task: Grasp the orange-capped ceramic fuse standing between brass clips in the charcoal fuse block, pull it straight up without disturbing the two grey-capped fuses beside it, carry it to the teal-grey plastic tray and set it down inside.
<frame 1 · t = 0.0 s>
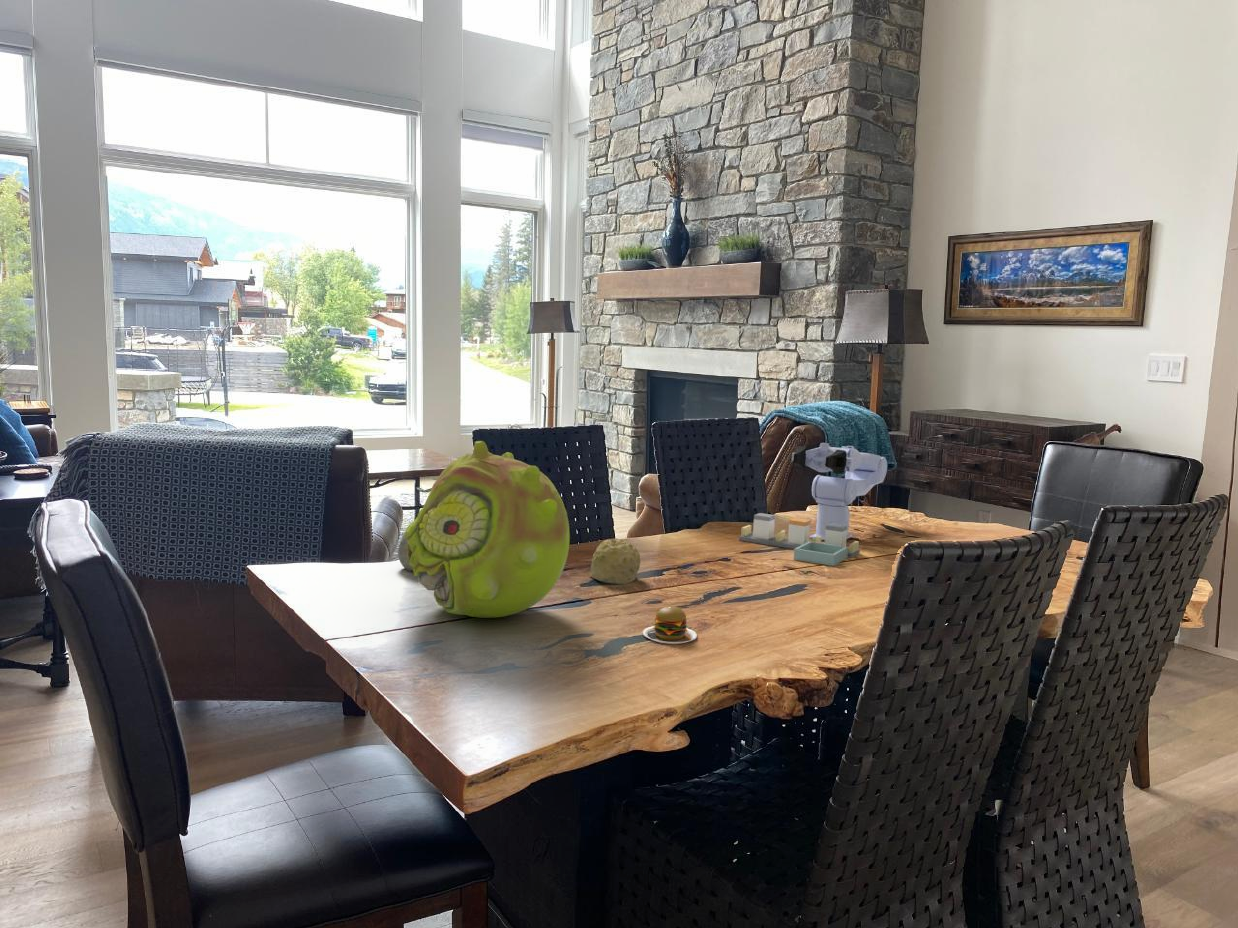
hand: (810, 459, 220), 22 cm above the table, tool horizontal, fingers open, 7 cm apart
fuse block: (798, 546, 228), on the table
hamburger: (669, 641, 156), on the table
grey fuse 1: (763, 537, 232), point 1 cm above the table, touching fuse block
grey fuse 2: (834, 548, 223), point 1 cm above the table, touching fuse block
stone: (476, 566, 197), on the table
monster head: (485, 614, 163), on the table
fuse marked: (798, 542, 228), point 1 cm above the table, touching fuse block
tray: (820, 558, 216), on the table
rock: (614, 579, 191), on the table
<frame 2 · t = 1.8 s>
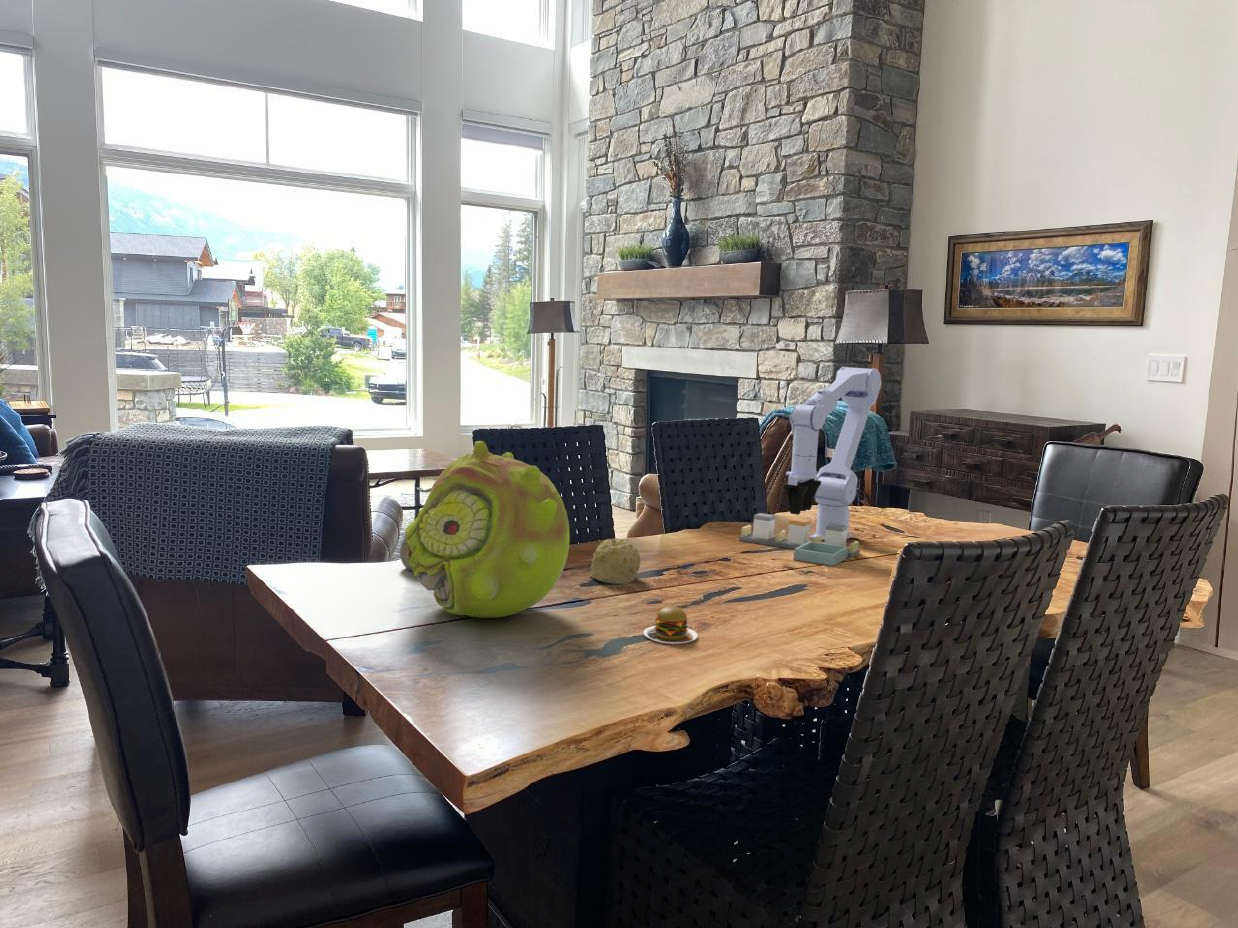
hand: (800, 511, 226), 9 cm above the table, tool pointing down, fingers open, 7 cm apart
nothing on the table moved.
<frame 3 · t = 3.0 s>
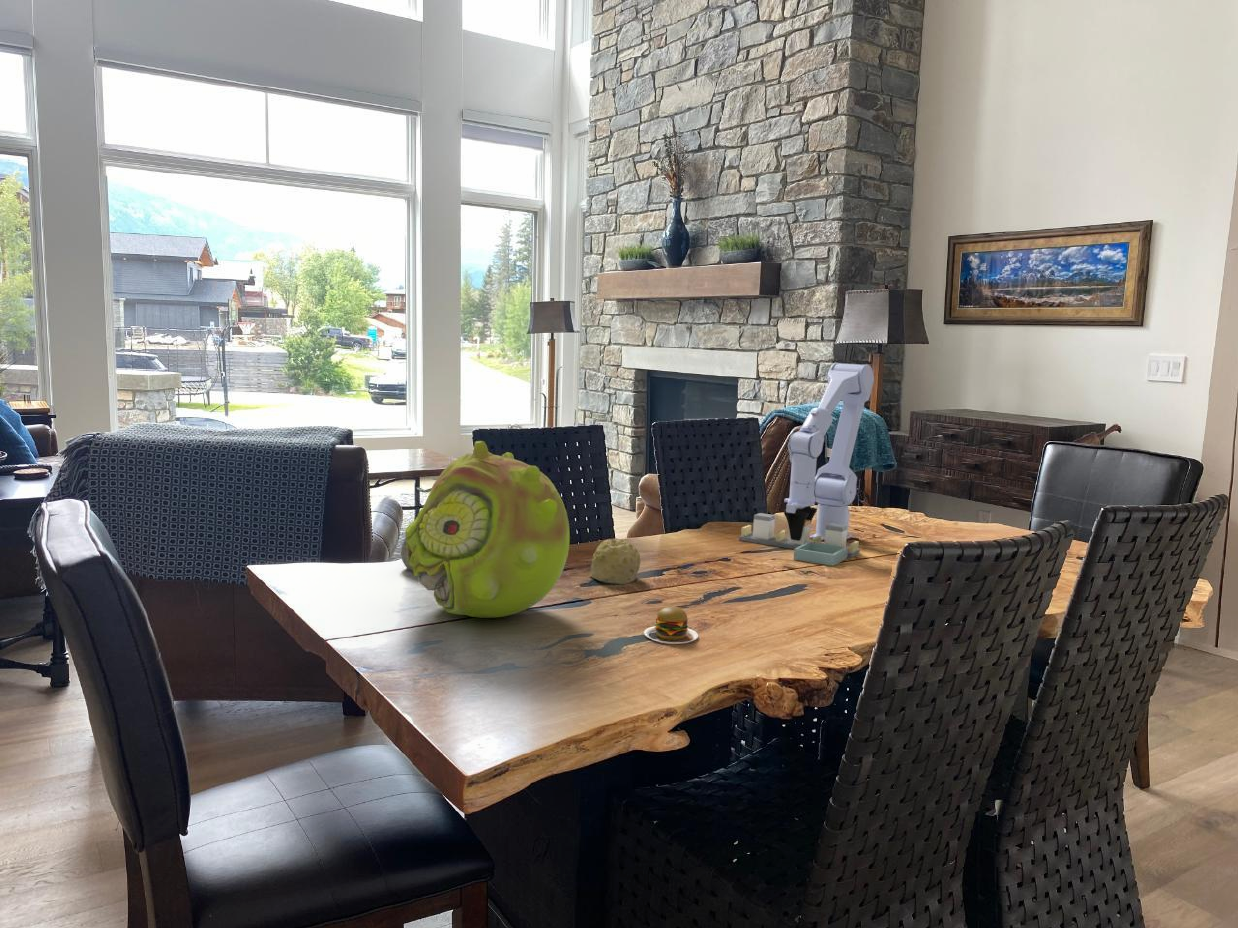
hand: (798, 538, 227), 2 cm above the table, tool pointing down, fingers closed on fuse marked, 4 cm apart
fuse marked: (798, 542, 228), point 1 cm above the table, touching fuse block, gripper
everything else where it was.
when the fingers open (3 cm above the table, at t = 6.4 s): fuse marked drops 2 cm, resting on tray.
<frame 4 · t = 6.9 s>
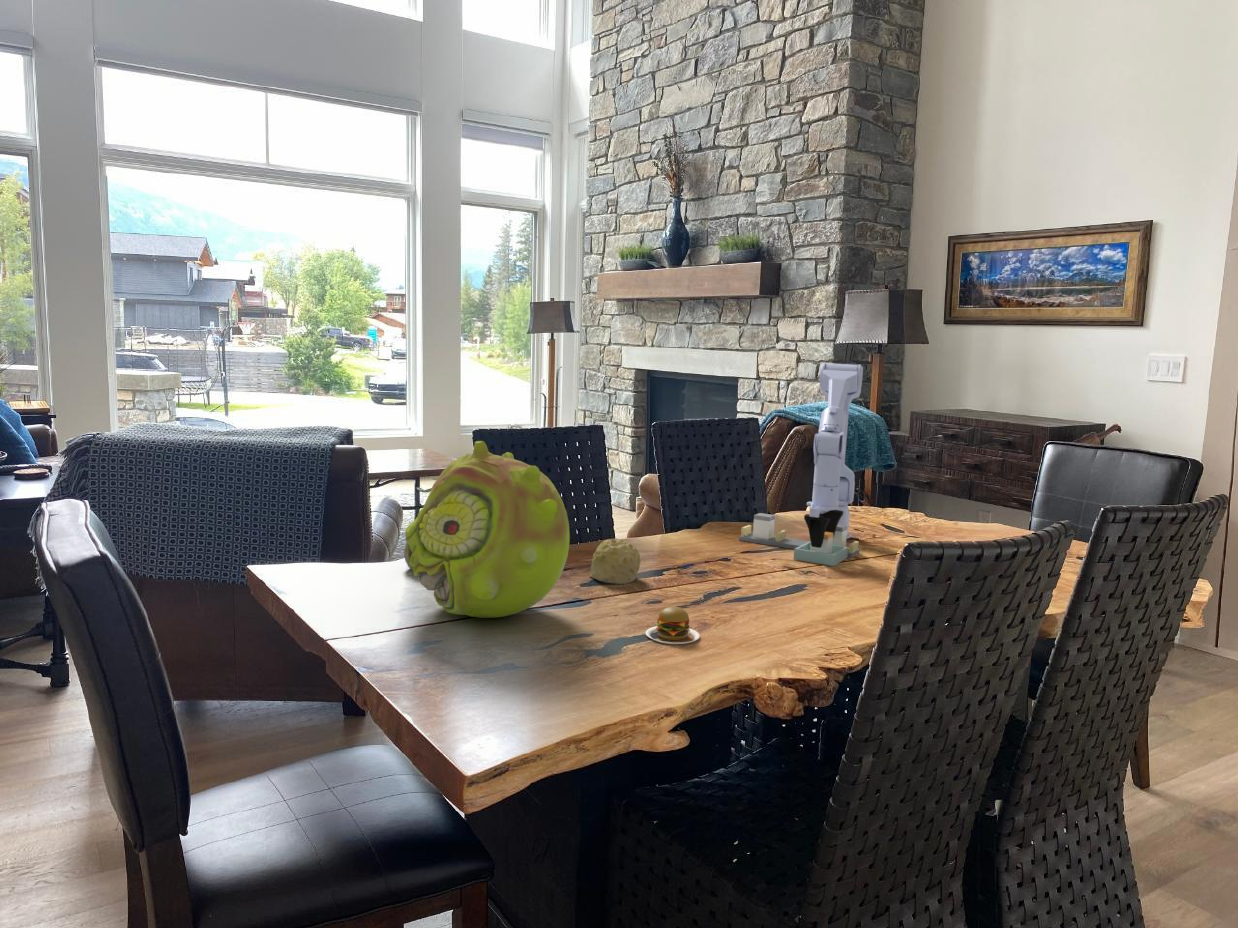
hand: (821, 544, 216), 3 cm above the table, tool pointing down, fingers open, 7 cm apart
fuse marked: (820, 556, 216), resting on tray
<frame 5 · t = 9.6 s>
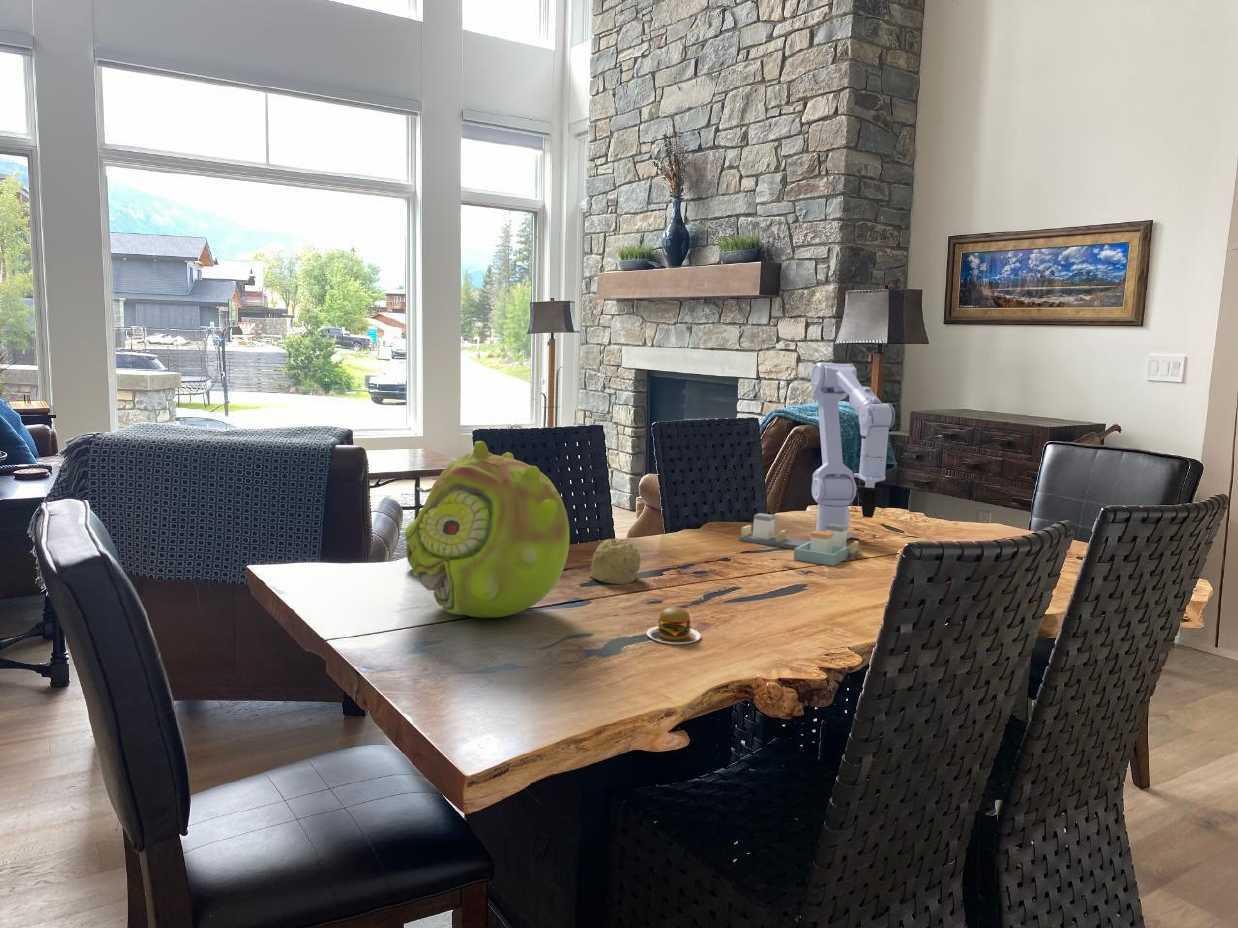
hand: (868, 514, 219), 10 cm above the table, tool pointing down, fingers open, 7 cm apart
at the end: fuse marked inside the target area on the tray (0.1 cm from its centre), point 0.5 cm above the tray's base; grey fuse 1 moved 0.0 cm from its start; grey fuse 2 moved 0.0 cm from its start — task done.
